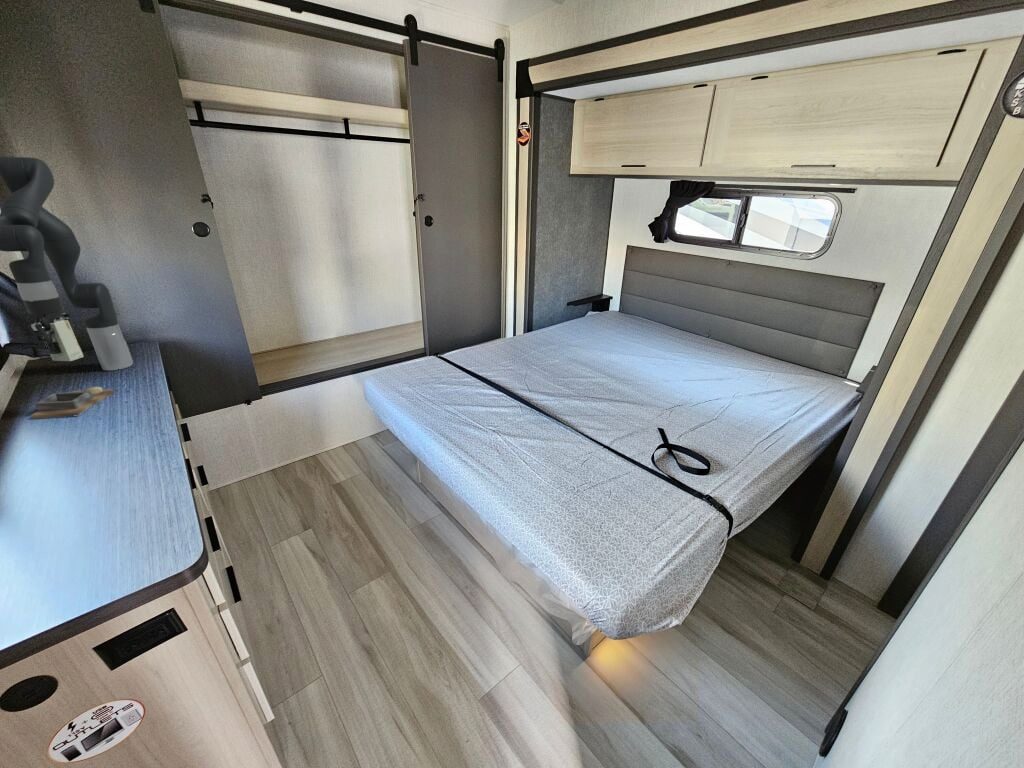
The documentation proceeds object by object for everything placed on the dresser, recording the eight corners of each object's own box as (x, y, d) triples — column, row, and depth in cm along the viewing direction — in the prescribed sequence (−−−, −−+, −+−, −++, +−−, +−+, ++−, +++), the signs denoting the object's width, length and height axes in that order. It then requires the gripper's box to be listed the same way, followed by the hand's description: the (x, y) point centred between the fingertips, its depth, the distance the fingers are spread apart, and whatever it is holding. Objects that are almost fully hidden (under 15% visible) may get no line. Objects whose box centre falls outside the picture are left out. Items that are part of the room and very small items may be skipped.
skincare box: (84, 357, 133) (70, 320, 128) (70, 362, 129) (54, 323, 124) (65, 355, 133) (50, 318, 128) (51, 360, 129) (34, 322, 124)
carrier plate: (74, 393, 144) (70, 384, 143) (114, 392, 147) (111, 382, 145) (32, 418, 128) (26, 408, 127) (78, 416, 131) (73, 405, 129)
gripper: (43, 291, 128) (65, 343, 135) (4, 302, 116) (30, 359, 123) (72, 291, 130) (92, 342, 137) (37, 302, 118) (61, 357, 125)
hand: (63, 350), depth 130 cm, fingers closed on skincare box, 5 cm apart
